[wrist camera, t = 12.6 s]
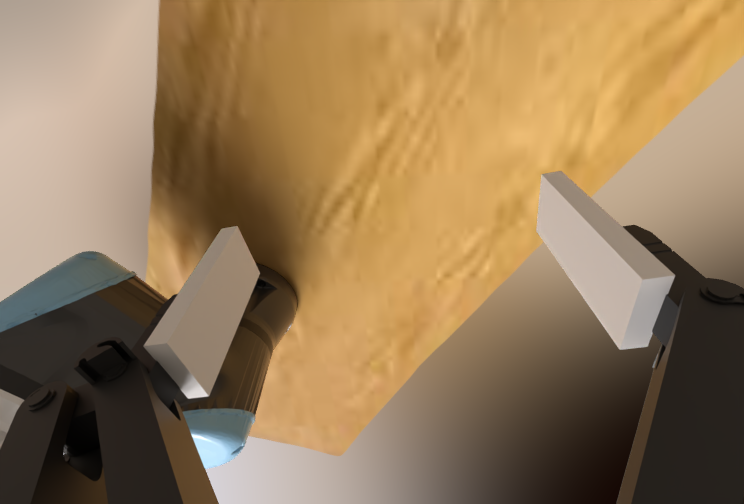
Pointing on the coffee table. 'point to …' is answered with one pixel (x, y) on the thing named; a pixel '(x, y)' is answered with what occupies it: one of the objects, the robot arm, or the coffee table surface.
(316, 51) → the coffee table surface
